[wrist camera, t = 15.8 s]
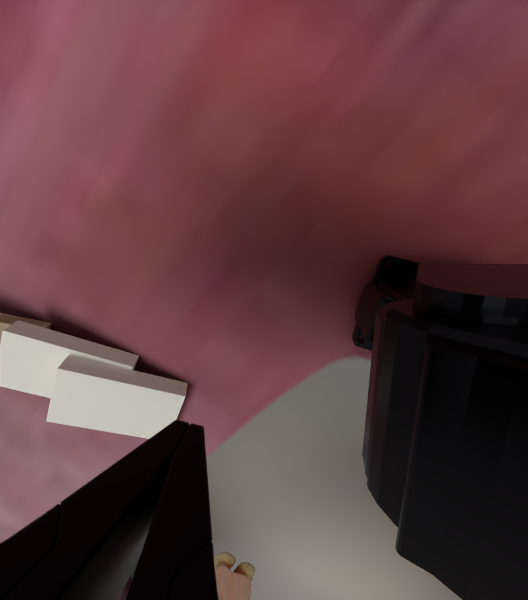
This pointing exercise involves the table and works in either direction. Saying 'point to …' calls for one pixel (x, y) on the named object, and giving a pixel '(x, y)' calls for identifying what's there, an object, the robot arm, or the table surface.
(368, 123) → the table surface
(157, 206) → the table surface
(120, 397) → the domino
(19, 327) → the domino
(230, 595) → the grandmother figurine
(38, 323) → the domino
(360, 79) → the table surface
